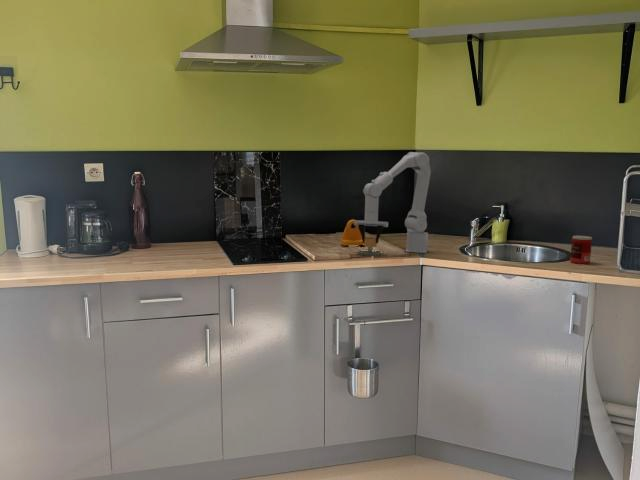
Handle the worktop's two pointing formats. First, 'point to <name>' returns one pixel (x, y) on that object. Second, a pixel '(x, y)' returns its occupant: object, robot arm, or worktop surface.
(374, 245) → the ring
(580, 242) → the canned food
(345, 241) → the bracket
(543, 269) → the worktop surface
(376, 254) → the post block
